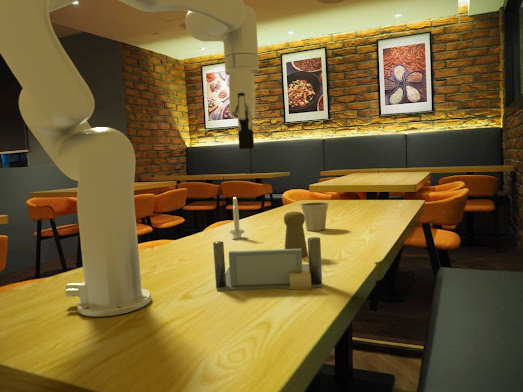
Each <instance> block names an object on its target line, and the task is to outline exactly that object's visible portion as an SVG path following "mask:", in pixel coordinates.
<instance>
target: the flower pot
mask: <svg viewBox="0 0 523 392" xmlns="http://www.w3.org/2000/svg"><path fill="white" fill-rule="evenodd" d="M329 205H330V203H329V202H324V201H323V202H317V201H316V202H314V201H313V202H304V203H301V204H300V207H301V211H302V213H303V215H304V217H305V221H304V224H305V229H306V231H311V232H320V231H322V230H323V231H324V230H326V224H327V223H326V222H327V210H328V208H329Z"/></svg>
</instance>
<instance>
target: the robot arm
mask: <svg viewBox="0 0 523 392" xmlns="http://www.w3.org/2000/svg"><path fill="white" fill-rule="evenodd" d="M77 1H79V0H0V55H1V57H2V59H4V61H5V63H6V64H7V66H8V67H9V69H10V71H11V73H12V74H13V75H14V77H15V78H16V80H17V81H18V83H19V84H20V86H21V88H22V89H21V91H20V94H19V97H18V107H19V108H18V109H19V112H20V115H21V117H22V119H23V121H24V122H25V125H26V126H27V127H28V129H29V131H31V133H32V134H33V136H34V137H35V139H36V140H37V141H38V142H39V144H40V146H41V147H42V148H43V149H44V151H45V152H46V154H47V155H48V156H49V157H50V159H51V160H52V161H53V163H54V164H55V165H56V166H57V168H58V169H59V170H60V171H61V173H63V174H64V176H66V177H67V178H69V179H71V180H73V181H76V182H77V193H76V210H77V211H76V212H77V220H78V229H79V238H80V250H81V260H82V261H81V262H82V269H83V280H84V281H83V282H80V283H79V282H70V283H69V282H68V283H67V284H66V285H65V296H66V297H67V298H68V297H69V298H70V297H78V298H79V299H80V300H79V301H78V303H77V304H76V307H77V312H78V313H79V314H80V315H83V316H86V317H95V318H99V317H100V318H101V317H113V316H118V315H122V314H127V313H130V312H134V311H136V310H139V309H142V308H144V307H145V306H147V305H148V304H149V303H150V302H151V301H152V292H151V291H150V290H148V289H146V288H142V278H141V277H142V276H141V266H140V265H141V264H140V254H139V242H138V231H137V230H138V227H137V216H136V208H135V178H136V177H135V176H136V175H135V174H136V154H135V149H134V146H133V144H132V143H131V141H130V139H129V138H128V137H127V136H126V135H125V134H124V133H123V132H121V131H119V130H117V129H115V128H112V127H105V126H103V127H101V126H100V127H99V126H97V127H91V125H90V124H89V122H88V120H89V119H90V118H91V116H92V115H93V113H94V110H95V99H94V95H93V93H92V91H91V89H90V87H89V86H88V84H87V83H86V81H85V79H84V78H83V77H82V75H81V74H80V72H79V71H78V69H77V67H76V66H75V64H74V63H73V61H72V60H71V58H70V56H69V55H68V54H67V52H66V50H65V49H64V47H63V45H62V44H61V41H60V40H59V39H58V37H57V36H58V35H56V32H55V30H54V28H53V25H52V22H51V18H50V13H53V12H54V11H57V10H60V9H62V8H64V7H65V8H66V6H69V5H72V4H73V3H76V2H77ZM117 1H119V2H121V3H123V4H125V5H127V6H130V7H132V8H134V9H136V10H138V11H142V12H145V13H146V12H147V13H162V12H170V11H186V12H187V13H186V14H185V19H184V25H185V28H186V31H187V32H188V34H189V35H190V36H191V37H192V38H194V39H195V40H197V41H199V42H200V41H201V42H206V43H207V42H222V43H223V55H224V70H225V75H228V89H229V95H228V96H229V115H230V116H232V117H233V118H235V119H237V122H238V123H237V126H238V131H237V132H238V148H239V149H240V150H247V149H248V150H249V149H250V150H251V149H254V148H255V144H254V141H255V140H254V130H253V118H254V117H255V116H256V90H255V75H256V74H258V73H260V67H259V66H260V65H259V62H260V61H259V47H258V30H257V28H258V27H257V26H258V25H257V15H256V11H255V10H254V9H253V8H252V7H251V6H248V5H245V3H244V0H117Z"/></svg>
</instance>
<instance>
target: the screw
mask: <svg viewBox="0 0 523 392" xmlns="http://www.w3.org/2000/svg"><path fill="white" fill-rule="evenodd" d="M232 203H233V204H232V213H233V214H232V216H233V228H234V229H232V230H231V229H230V230H229V234H230V235H232V236H233V239H234V240H238V239H239V240H240V239H242V235H243V234H244V233H245V230H244V229H242V228H241V229H240V215H239V205H238V197H236V196H234V197H233V198H232Z"/></svg>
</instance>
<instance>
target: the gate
mask: <svg viewBox="0 0 523 392" xmlns="http://www.w3.org/2000/svg"><path fill="white" fill-rule="evenodd" d="M302 264H303V258H302V252H301V248H300V249H285V248H283V249H278V248H277V249H261V250H259V249H258V250H233V251H232V250H229V252H228V265H229V267H230V283H231V286H237V285H259V284H288V283H290V278H289V271H302ZM229 267H228V268H229Z"/></svg>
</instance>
